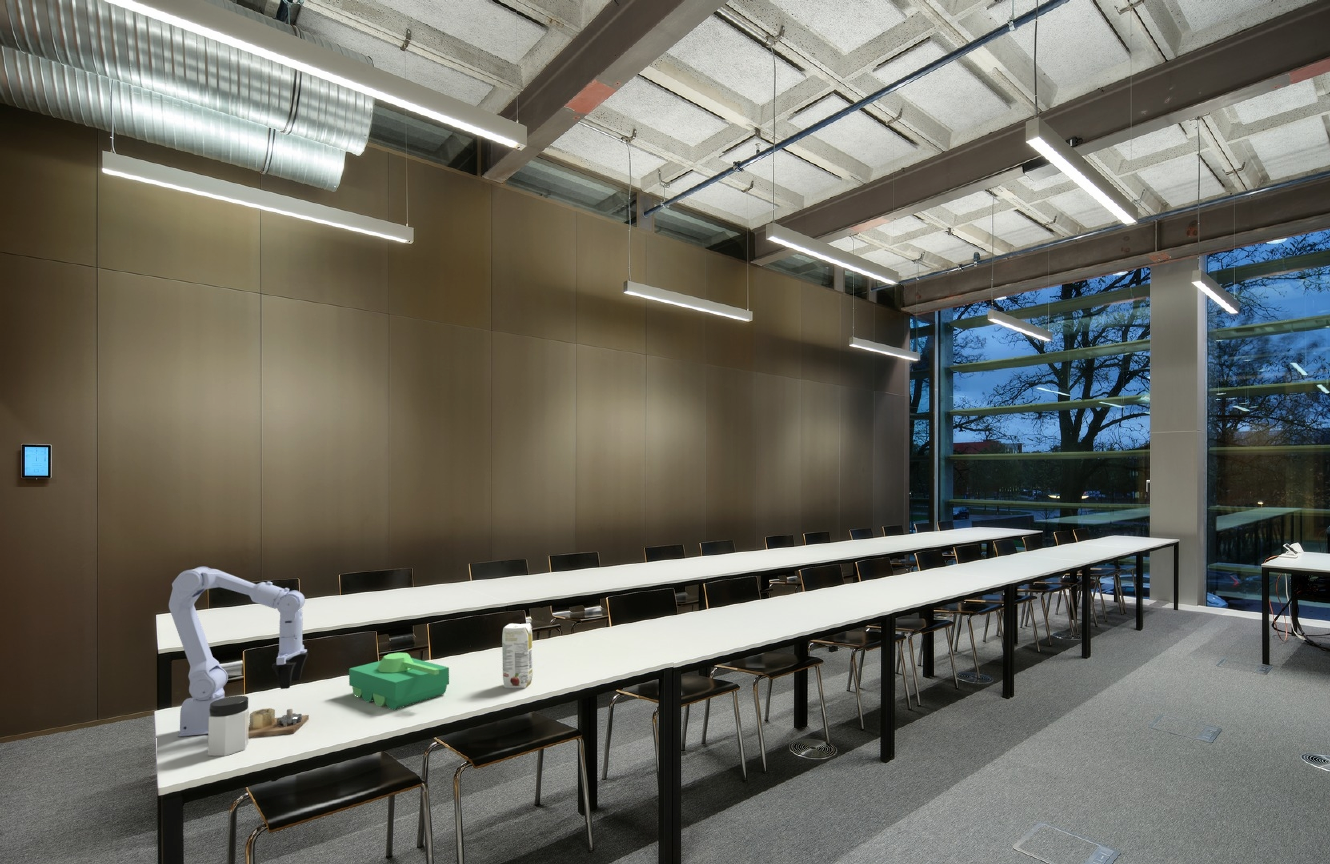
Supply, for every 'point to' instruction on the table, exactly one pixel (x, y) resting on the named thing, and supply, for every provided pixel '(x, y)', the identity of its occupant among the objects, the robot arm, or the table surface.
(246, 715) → the jar
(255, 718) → the gear ring
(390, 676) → the toy tank
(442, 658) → the table surface
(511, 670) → the juice carton
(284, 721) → the gear
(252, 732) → the gear board
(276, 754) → the table surface
